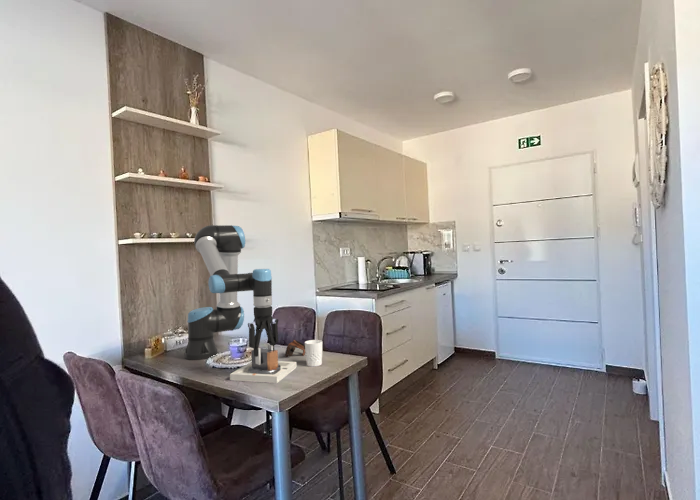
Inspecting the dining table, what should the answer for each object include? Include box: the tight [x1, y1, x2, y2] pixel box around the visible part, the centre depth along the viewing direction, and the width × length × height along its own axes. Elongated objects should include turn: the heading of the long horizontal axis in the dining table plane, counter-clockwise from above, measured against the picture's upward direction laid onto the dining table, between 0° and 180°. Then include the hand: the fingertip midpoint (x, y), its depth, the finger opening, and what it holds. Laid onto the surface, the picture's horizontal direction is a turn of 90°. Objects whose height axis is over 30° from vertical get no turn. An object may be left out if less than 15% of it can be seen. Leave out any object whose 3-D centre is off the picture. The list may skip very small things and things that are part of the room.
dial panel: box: [229, 360, 297, 384], centre depth 162 cm, size 20×20×3 cm
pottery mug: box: [284, 339, 306, 358], centre depth 189 cm, size 12×10×8 cm
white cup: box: [304, 339, 323, 367], centre depth 174 cm, size 8×8×10 cm
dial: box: [248, 347, 281, 375], centre depth 162 cm, size 13×13×9 cm
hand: (264, 362), depth 162 cm, fingers closed on dial, 5 cm apart
